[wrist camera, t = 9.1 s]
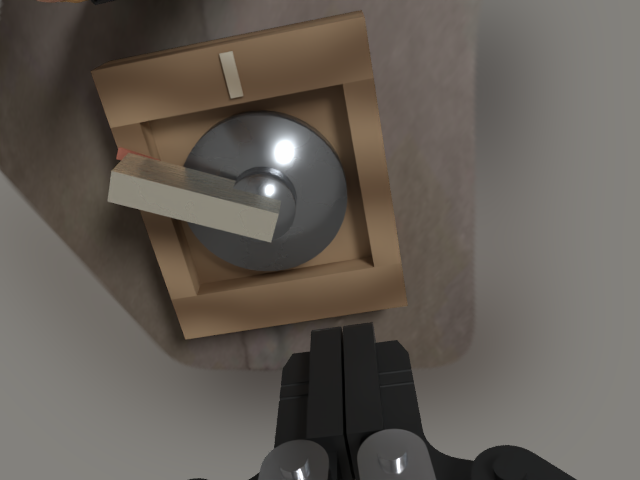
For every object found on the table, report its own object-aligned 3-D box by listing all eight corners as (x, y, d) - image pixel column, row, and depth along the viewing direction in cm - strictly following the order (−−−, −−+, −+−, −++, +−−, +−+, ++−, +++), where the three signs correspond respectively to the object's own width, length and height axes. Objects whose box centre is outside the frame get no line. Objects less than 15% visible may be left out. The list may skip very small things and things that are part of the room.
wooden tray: (105, 62, 35) (85, 72, 32) (361, 10, 34) (364, 16, 31) (191, 315, 43) (181, 341, 40) (402, 281, 42) (408, 307, 39)
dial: (367, 136, 35) (372, 163, 31) (321, 277, 40) (321, 319, 35) (147, 75, 34) (121, 95, 30) (125, 229, 38) (99, 266, 34)
